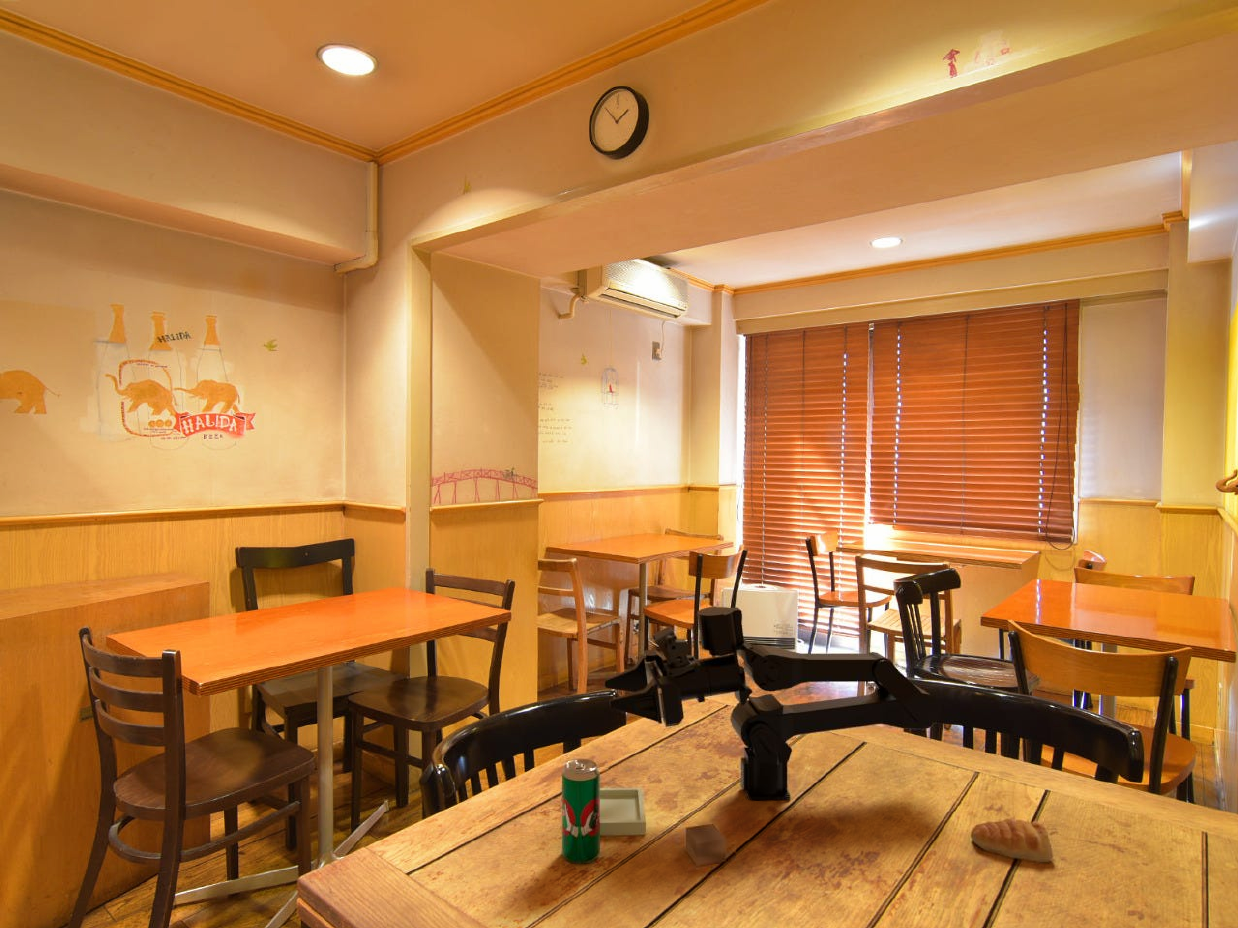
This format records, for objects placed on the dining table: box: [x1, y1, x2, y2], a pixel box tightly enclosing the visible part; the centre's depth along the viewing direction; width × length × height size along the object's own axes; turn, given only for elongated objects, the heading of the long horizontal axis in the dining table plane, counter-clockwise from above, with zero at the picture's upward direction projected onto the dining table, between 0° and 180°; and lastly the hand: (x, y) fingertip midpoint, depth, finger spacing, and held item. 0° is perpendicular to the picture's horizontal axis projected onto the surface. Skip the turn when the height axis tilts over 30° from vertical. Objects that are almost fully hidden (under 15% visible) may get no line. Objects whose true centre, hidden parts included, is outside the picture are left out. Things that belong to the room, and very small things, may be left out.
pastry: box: [970, 817, 1054, 863], centre depth 96 cm, size 9×7×4 cm
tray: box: [600, 787, 647, 837], centre depth 105 cm, size 10×10×2 cm
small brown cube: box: [685, 823, 727, 867], centre depth 94 cm, size 4×4×3 cm
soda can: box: [561, 758, 601, 865], centre depth 94 cm, size 5×5×12 cm
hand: (607, 693), depth 110 cm, fingers open, 9 cm apart
